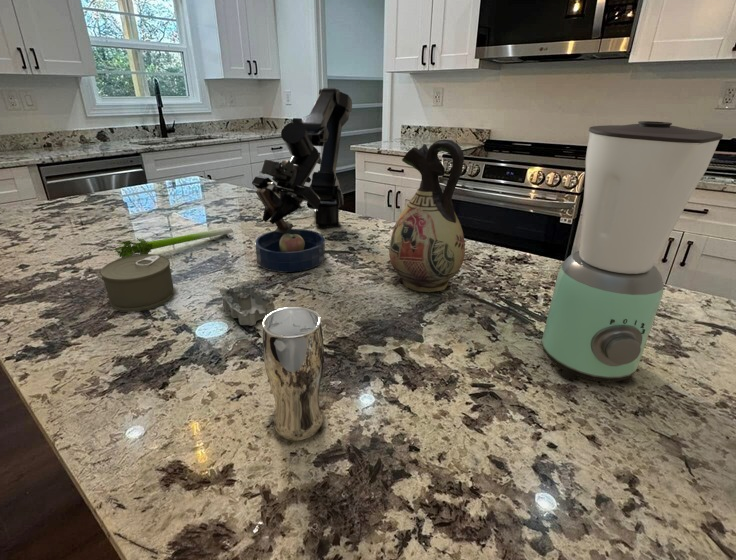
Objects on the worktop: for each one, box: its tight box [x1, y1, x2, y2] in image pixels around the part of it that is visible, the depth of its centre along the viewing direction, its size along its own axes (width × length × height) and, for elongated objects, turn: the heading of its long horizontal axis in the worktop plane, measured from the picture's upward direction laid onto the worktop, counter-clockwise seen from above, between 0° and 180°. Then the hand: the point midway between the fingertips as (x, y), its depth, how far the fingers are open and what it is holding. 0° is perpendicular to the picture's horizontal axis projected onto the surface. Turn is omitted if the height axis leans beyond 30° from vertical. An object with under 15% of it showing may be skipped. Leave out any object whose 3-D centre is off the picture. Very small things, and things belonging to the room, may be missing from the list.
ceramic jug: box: [388, 139, 466, 293], centre depth 82 cm, size 17×15×30 cm
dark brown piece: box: [255, 188, 294, 235], centre depth 97 cm, size 3×3×13 cm
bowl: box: [254, 228, 326, 273], centre depth 100 cm, size 16×16×5 cm
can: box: [100, 253, 175, 313], centre depth 81 cm, size 12×12×7 cm
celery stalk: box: [113, 226, 234, 258], centre depth 106 cm, size 6×7×30 cm
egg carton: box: [219, 283, 277, 327], centre depth 77 cm, size 11×8×4 cm
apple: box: [279, 234, 305, 252], centre depth 99 cm, size 6×8×6 cm
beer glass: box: [261, 306, 325, 441], centre depth 50 cm, size 7×7×15 cm
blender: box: [541, 120, 724, 384], centre depth 58 cm, size 19×13×35 cm
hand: (267, 222), depth 97 cm, fingers closed on dark brown piece, 2 cm apart
